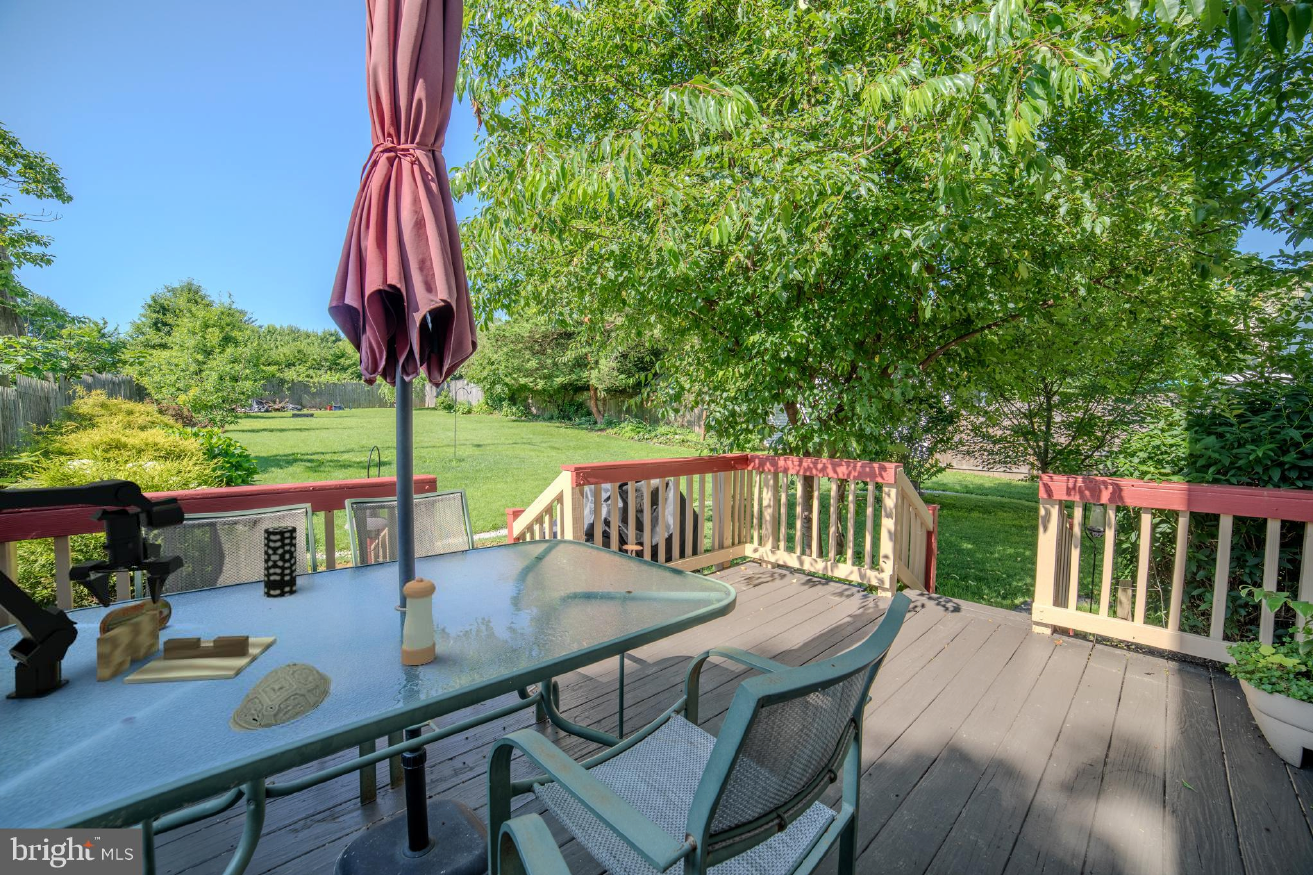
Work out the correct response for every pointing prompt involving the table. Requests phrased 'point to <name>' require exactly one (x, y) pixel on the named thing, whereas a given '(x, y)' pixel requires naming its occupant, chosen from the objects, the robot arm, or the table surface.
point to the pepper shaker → (418, 623)
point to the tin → (135, 614)
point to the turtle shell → (281, 697)
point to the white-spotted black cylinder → (280, 561)
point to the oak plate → (127, 645)
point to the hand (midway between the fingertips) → (131, 605)
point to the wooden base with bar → (201, 659)
